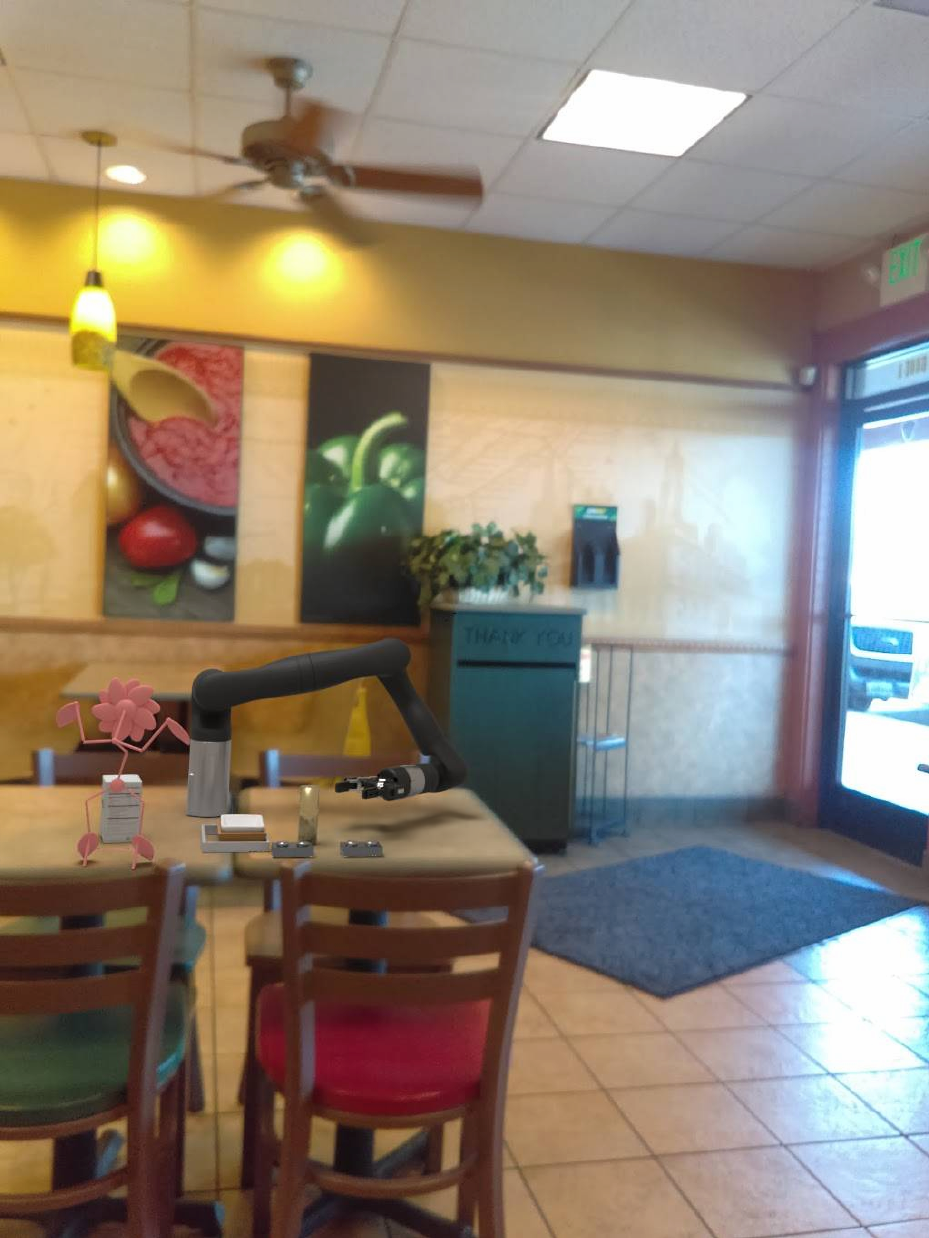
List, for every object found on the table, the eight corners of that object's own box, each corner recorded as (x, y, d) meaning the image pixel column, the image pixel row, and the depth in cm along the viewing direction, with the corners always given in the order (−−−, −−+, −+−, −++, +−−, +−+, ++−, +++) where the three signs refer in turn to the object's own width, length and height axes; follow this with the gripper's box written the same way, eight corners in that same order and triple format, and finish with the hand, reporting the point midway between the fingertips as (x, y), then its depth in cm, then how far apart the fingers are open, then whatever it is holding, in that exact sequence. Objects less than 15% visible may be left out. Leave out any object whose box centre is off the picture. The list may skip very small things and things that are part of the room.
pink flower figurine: (177, 873, 196) (187, 684, 196) (37, 866, 196) (46, 676, 196) (197, 853, 212) (206, 678, 211) (67, 847, 211) (75, 671, 211)
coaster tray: (202, 852, 212) (202, 842, 212) (201, 833, 227) (201, 824, 227) (269, 851, 215) (269, 842, 215) (263, 833, 230) (264, 824, 230)
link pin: (298, 845, 222) (301, 788, 221) (296, 841, 225) (299, 784, 225) (317, 845, 223) (320, 788, 222) (315, 840, 226) (318, 785, 226)
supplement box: (99, 834, 221) (102, 774, 221) (136, 833, 224) (139, 773, 223) (102, 843, 214) (105, 781, 214) (140, 842, 217) (143, 780, 217)
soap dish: (266, 851, 217) (267, 826, 216) (216, 851, 214) (218, 826, 214) (263, 836, 229) (264, 812, 229) (216, 836, 226) (217, 812, 226)
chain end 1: (272, 857, 211) (273, 844, 211) (271, 852, 215) (271, 839, 215) (313, 857, 213) (313, 844, 213) (310, 851, 217) (311, 839, 217)
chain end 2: (342, 857, 215) (343, 844, 215) (339, 851, 219) (340, 838, 219) (382, 856, 217) (382, 844, 217) (378, 851, 221) (378, 838, 221)
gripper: (379, 761, 249) (327, 769, 237) (424, 770, 240) (373, 779, 227) (378, 793, 249) (326, 802, 237) (422, 803, 240) (371, 814, 228)
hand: (349, 791), depth 232 cm, fingers open, 8 cm apart
